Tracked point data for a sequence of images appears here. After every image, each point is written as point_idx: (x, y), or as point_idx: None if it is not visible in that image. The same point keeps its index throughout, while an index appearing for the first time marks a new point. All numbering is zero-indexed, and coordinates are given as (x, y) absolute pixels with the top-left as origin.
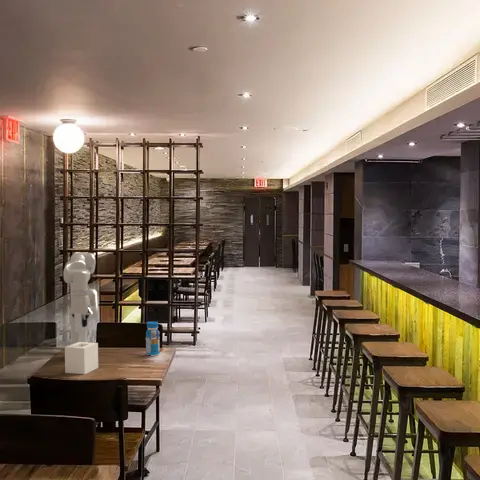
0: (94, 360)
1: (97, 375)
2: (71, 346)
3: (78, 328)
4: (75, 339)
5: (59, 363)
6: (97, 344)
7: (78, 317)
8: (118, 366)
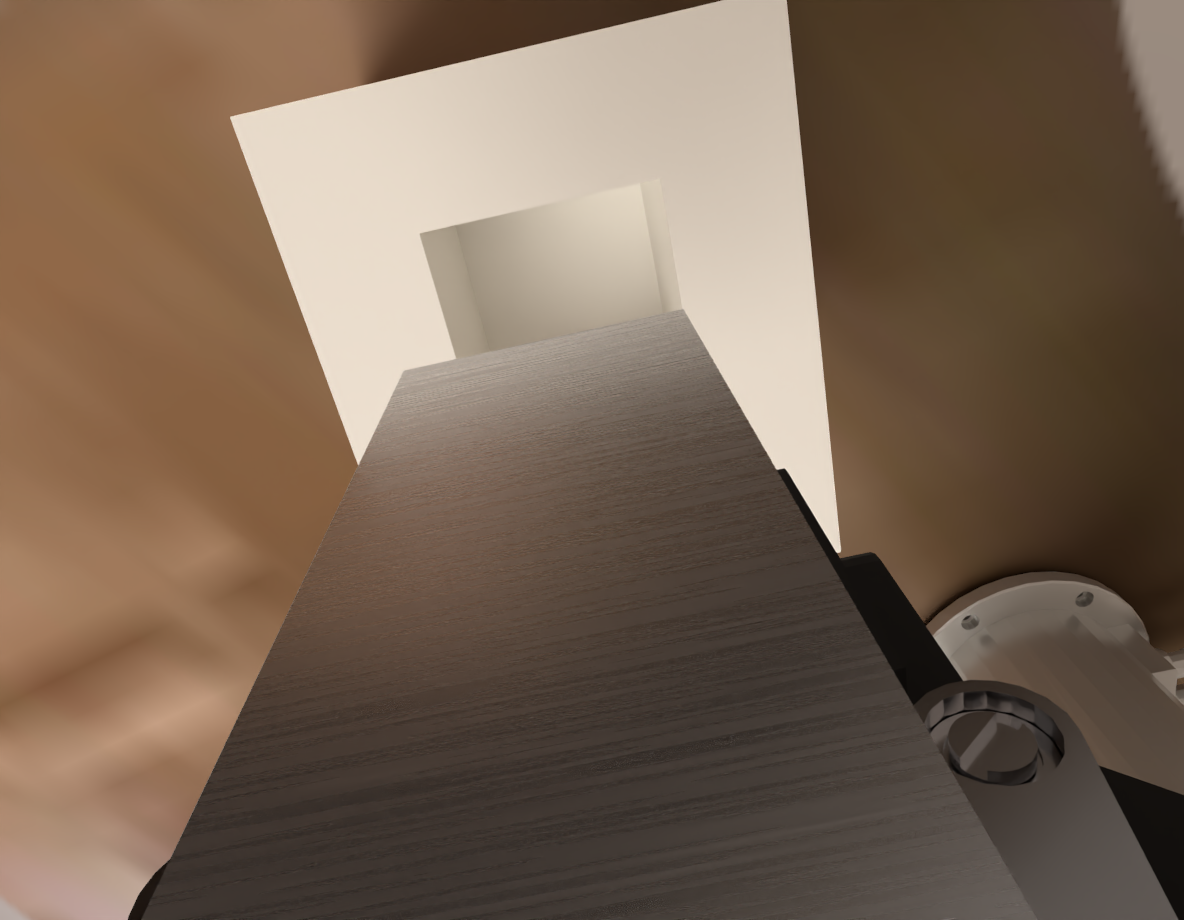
0: None
1: (153, 141)
2: (682, 137)
3: (524, 378)
4: (1166, 785)
5: (1089, 374)
6: None
7: (484, 732)
8: None
